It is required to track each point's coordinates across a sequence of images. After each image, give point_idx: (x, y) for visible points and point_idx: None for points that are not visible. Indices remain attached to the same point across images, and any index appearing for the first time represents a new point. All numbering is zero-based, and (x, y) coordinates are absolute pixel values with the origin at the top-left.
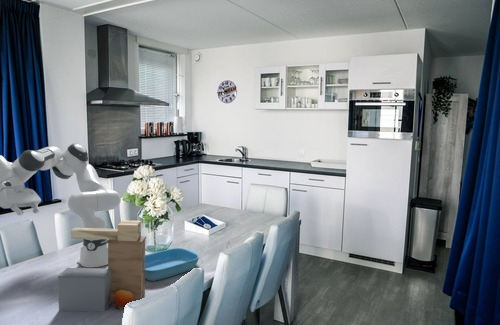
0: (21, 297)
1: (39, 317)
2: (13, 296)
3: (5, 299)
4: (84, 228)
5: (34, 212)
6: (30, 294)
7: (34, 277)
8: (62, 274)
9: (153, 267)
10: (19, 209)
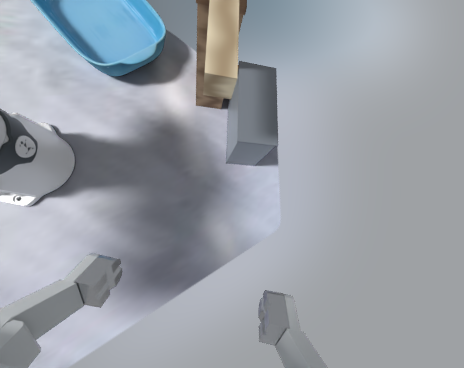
0: (212, 242)
1: (272, 184)
2: (208, 258)
3: (219, 266)
4: (212, 40)
5: (117, 280)
6: (201, 232)
7: (120, 266)
8: (270, 139)
9: (97, 46)
10: (296, 333)
